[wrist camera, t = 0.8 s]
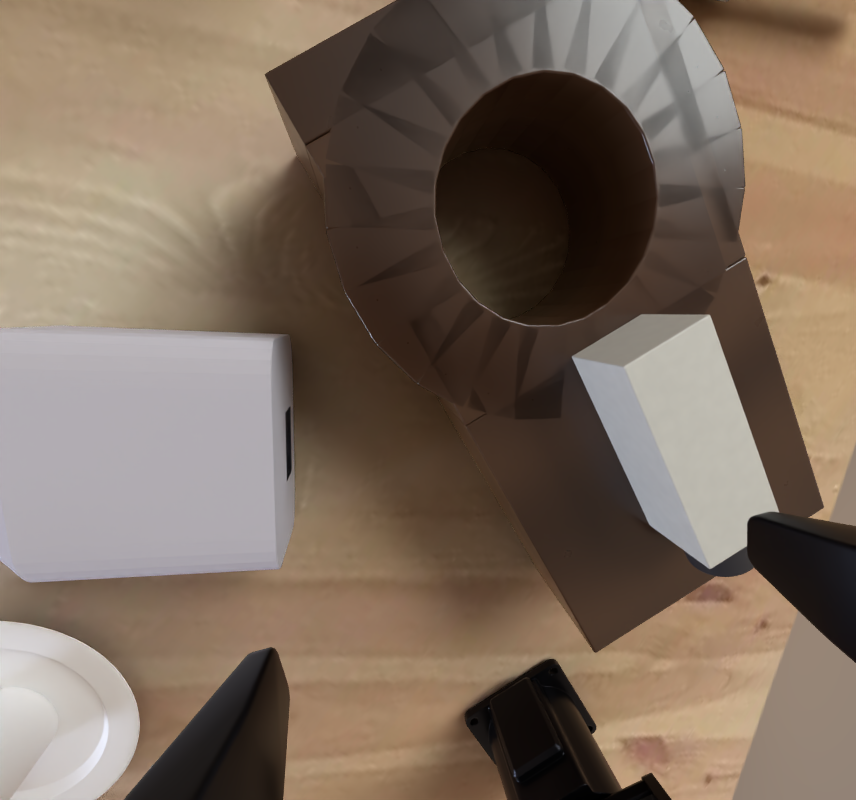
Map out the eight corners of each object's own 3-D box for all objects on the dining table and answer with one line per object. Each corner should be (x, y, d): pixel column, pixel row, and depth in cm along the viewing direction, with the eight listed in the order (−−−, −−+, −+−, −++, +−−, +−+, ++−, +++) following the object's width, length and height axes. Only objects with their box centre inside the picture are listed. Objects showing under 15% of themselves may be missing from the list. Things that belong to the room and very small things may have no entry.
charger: (-105, 317, 16) (293, 333, 19) (-60, 532, 18) (296, 520, 20) (-290, 319, 11) (271, 340, 14) (-204, 608, 13) (278, 580, 16)
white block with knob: (720, 513, 17) (794, 553, 14) (660, 550, 17) (722, 599, 14) (641, 313, 15) (710, 313, 12) (570, 356, 15) (623, 367, 12)
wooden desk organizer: (729, 449, 24) (848, 493, 18) (518, 580, 23) (571, 669, 18) (560, -4, 18) (659, -159, 12) (267, 163, 17) (220, 86, 11)
